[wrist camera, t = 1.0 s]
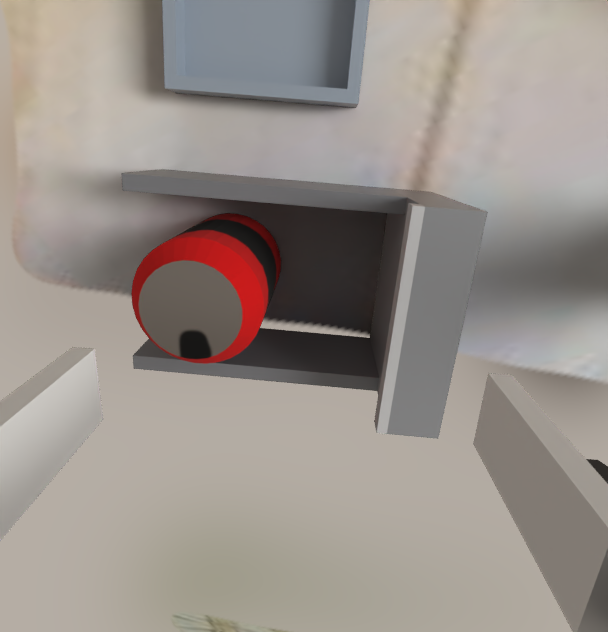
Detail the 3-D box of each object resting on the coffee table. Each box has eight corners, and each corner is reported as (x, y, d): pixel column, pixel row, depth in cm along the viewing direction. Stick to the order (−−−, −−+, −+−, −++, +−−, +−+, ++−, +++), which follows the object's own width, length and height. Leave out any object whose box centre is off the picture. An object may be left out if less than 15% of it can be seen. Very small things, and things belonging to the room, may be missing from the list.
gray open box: (162, 169, 33) (77, 177, 22) (431, 192, 33) (487, 212, 21) (167, 330, 37) (99, 406, 26) (403, 352, 37) (438, 438, 26)
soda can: (193, 307, 37) (134, 376, 25) (180, 214, 34) (108, 245, 23) (284, 304, 36) (265, 373, 25) (277, 210, 34) (253, 238, 22)
